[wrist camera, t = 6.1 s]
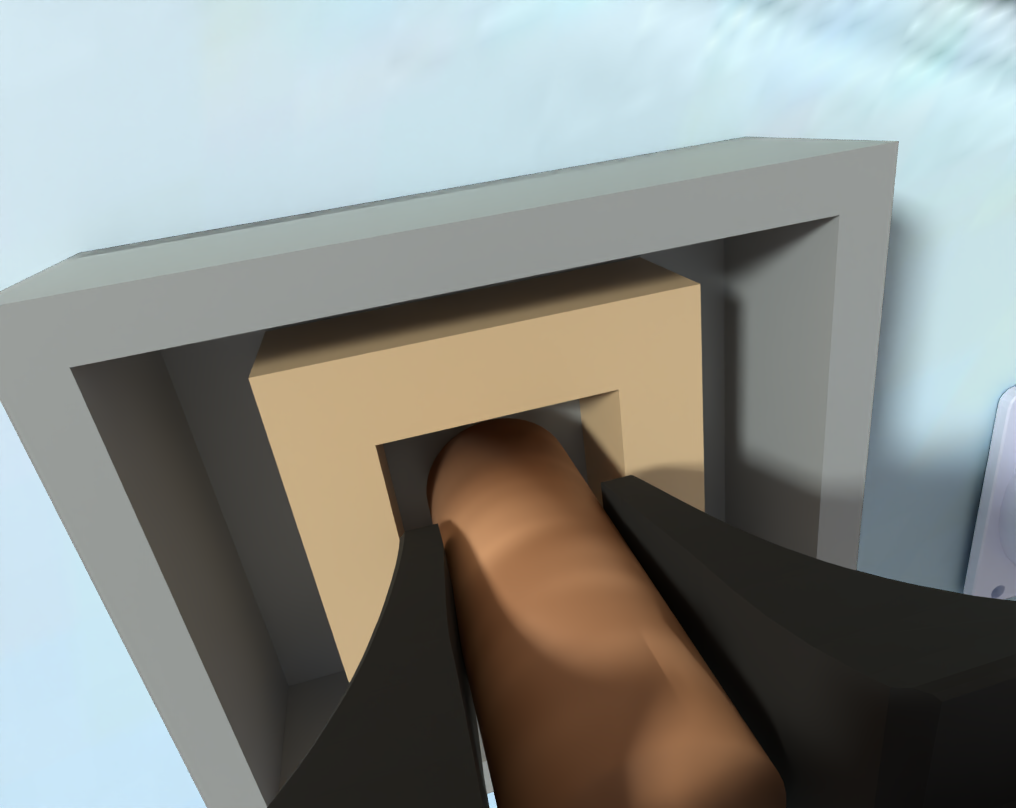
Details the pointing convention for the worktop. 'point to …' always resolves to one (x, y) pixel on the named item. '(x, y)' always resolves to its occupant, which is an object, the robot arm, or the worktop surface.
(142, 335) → the tray
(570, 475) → the peg
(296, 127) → the worktop surface
